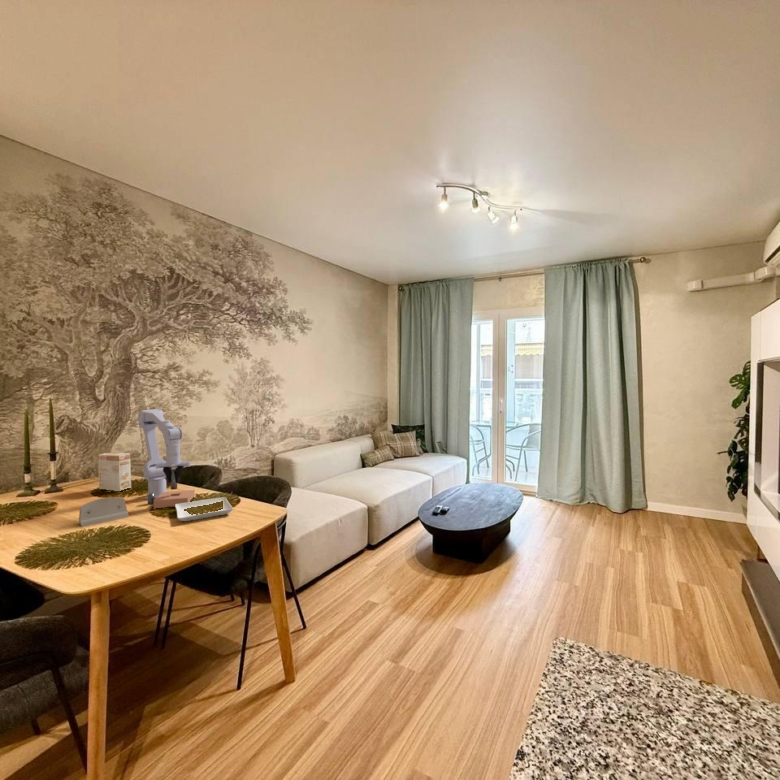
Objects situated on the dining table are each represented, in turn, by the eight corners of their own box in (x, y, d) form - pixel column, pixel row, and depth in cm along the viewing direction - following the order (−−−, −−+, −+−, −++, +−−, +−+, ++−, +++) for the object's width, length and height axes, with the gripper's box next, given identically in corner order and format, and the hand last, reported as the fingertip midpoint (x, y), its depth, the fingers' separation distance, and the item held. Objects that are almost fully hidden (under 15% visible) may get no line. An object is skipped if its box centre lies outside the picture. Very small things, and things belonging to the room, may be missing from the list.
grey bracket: (80, 527, 156) (78, 502, 158) (78, 528, 159) (76, 503, 162) (129, 516, 168) (127, 493, 170) (127, 517, 171) (124, 494, 174)
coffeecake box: (131, 489, 212) (130, 453, 212) (119, 492, 206) (118, 455, 205) (111, 487, 217) (110, 451, 217) (98, 490, 210) (97, 454, 210)
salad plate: (234, 515, 168) (233, 507, 168) (177, 526, 157) (177, 517, 157) (225, 503, 186) (225, 496, 186) (174, 511, 175) (174, 504, 175)
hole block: (163, 500, 191) (162, 492, 191) (194, 497, 195) (194, 489, 195) (153, 509, 178) (153, 500, 177) (187, 506, 181) (187, 497, 181)
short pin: (148, 502, 187) (148, 493, 187) (155, 502, 188) (155, 493, 188) (146, 504, 185) (146, 495, 184) (153, 504, 185) (153, 494, 185)
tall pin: (171, 488, 187) (171, 469, 187) (178, 487, 187) (177, 468, 187) (169, 489, 184) (169, 470, 184) (176, 489, 185) (175, 470, 185)
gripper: (153, 456, 180) (153, 485, 180) (187, 454, 183) (188, 483, 184) (158, 453, 187) (158, 482, 187) (191, 451, 190) (192, 479, 190)
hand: (173, 482), depth 186 cm, fingers closed on tall pin, 3 cm apart
